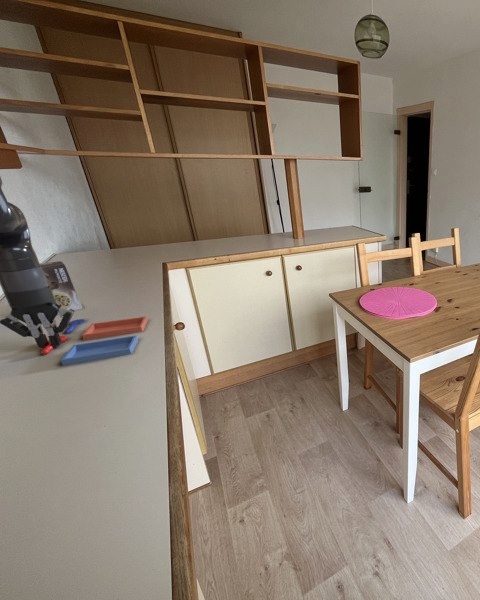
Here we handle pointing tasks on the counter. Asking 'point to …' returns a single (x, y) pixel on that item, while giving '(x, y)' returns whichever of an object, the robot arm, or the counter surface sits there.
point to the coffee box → (61, 285)
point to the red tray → (115, 328)
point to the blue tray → (100, 350)
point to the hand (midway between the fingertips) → (51, 347)
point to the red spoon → (49, 346)
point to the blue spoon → (73, 325)
